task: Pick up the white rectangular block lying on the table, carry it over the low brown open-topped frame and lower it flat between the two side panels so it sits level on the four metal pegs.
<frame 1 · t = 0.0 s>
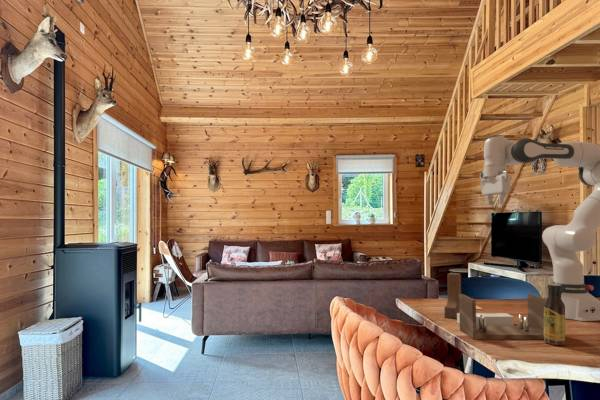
hand: (495, 204, 182), 48 cm above the table, fingers open, 8 cm apart
sauce bottle: (554, 344, 141), on the table
brown open-topped frame: (503, 334, 152), on the table
wooden block: (453, 316, 180), on the table
white rectangular block: (485, 325, 167), on the table
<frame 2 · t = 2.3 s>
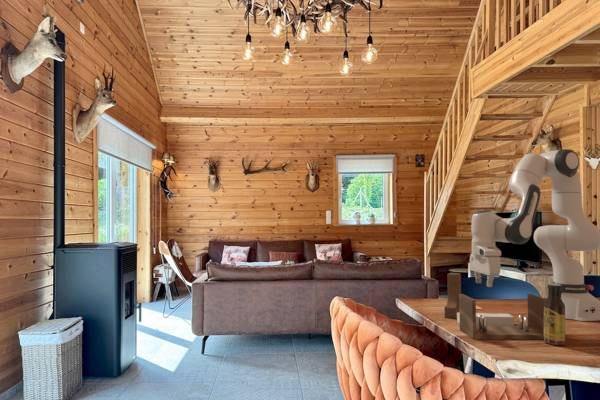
hand: (483, 284, 167), 15 cm above the table, fingers open, 8 cm apart
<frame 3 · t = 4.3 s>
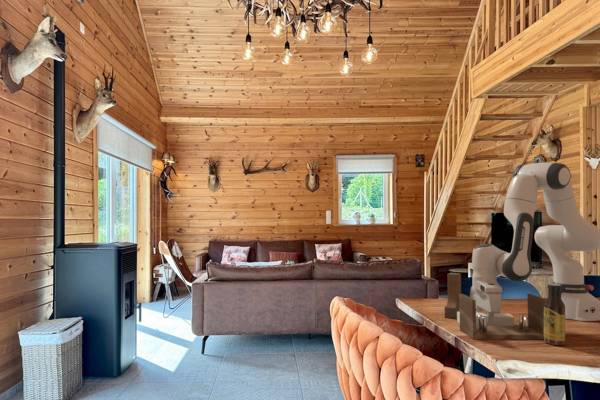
hand: (484, 319, 167), 2 cm above the table, fingers closed on white rectangular block, 6 cm apart
white rectangular block: (484, 324, 167), on the table, touching gripper
everything else where it was.
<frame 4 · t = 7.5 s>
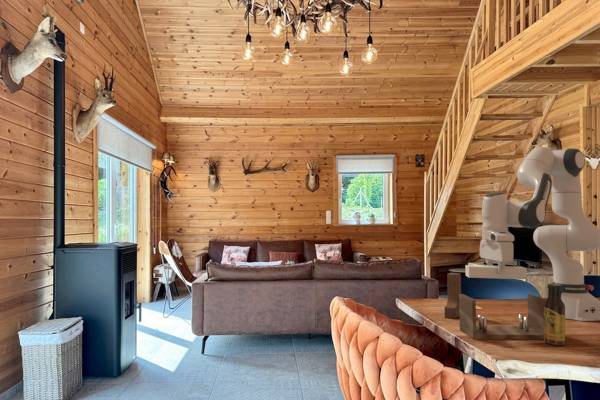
hand: (495, 272, 157), 22 cm above the table, fingers closed on white rectangular block, 6 cm apart
white rectangular block: (495, 277, 157), point 20 cm above the table, touching gripper
everything else where it was.
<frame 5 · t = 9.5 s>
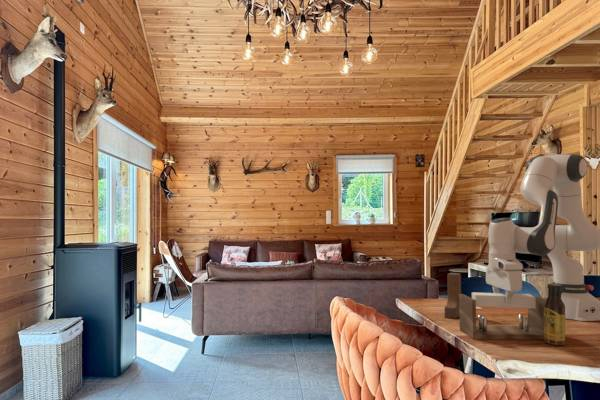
hand: (502, 300, 152), 12 cm above the table, fingers closed on white rectangular block, 6 cm apart
white rectangular block: (502, 305, 152), point 10 cm above the table, touching gripper
everything else where it was.
when the fingers open (9 cm above the table, at t = 11.1 s): white rectangular block stays where it is, resting on brown open-topped frame.
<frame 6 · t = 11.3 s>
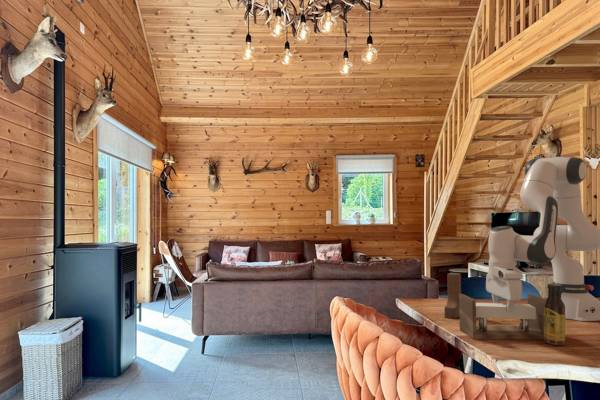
hand: (502, 309, 152), 9 cm above the table, fingers open, 8 cm apart
white rectangular block: (503, 316, 152), point 6 cm above the table, touching brown open-topped frame
everything else where it was.
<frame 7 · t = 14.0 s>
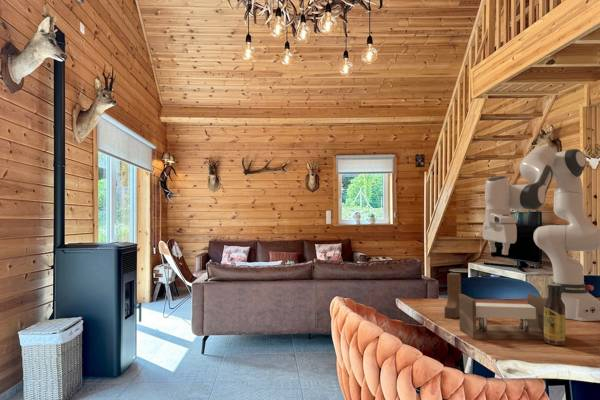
hand: (498, 253, 164), 28 cm above the table, fingers open, 8 cm apart
nothing on the table moved.
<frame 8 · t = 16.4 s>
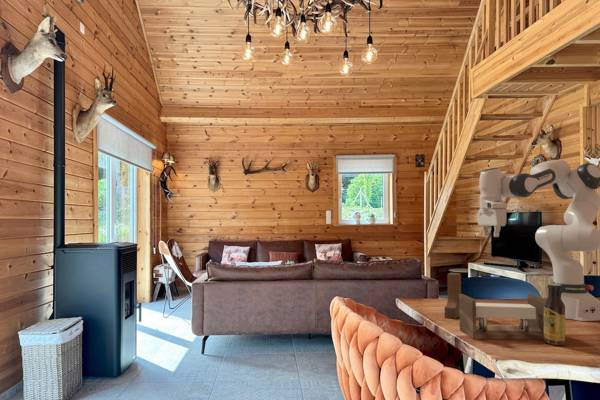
hand: (491, 236, 183), 34 cm above the table, fingers open, 8 cm apart
nothing on the table moved.
at the end: white rectangular block 0.0 cm off-centre on the brown open-topped frame, point 6.5 cm above the brown open-topped frame's base; white rectangular block tilted 0°; the gripper is holding nothing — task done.
